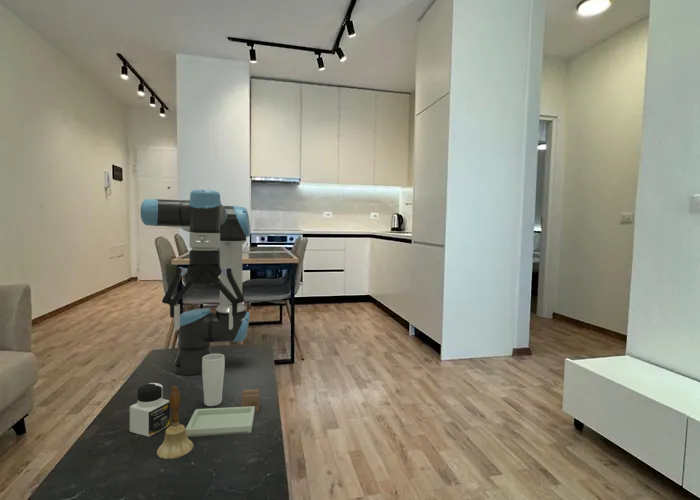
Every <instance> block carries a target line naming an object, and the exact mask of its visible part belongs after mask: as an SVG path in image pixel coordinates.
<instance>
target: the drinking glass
mask: <svg viewBox="0 0 700 500" xmlns="http://www.w3.org/2000/svg"><path fill="white" fill-rule="evenodd" d="M225 359H226V358H225V355H224V354H222V353H212V354H209V355H205V356H203V358H202V373H201V375H202V385H203V387H202V389H203V404H204V405H205V406H207V407H216V406H219V405H221V403H222V402H223V389H224V388H223V387H224V379H225V365H226V362H225V361H226V360H225Z"/></svg>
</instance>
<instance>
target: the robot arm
mask: <svg viewBox="0 0 700 500" xmlns="http://www.w3.org/2000/svg"><path fill="white" fill-rule="evenodd" d="M140 219H141V222H142V224H144V225H145V226H150V227H151V226H153V227H169V228H176V229H177V228H178V229H182V230H183V231H185V232H188V233H189V248H190V249H191V250H190V251H189V261H188V262H189V265H188V268H184V267H182V266H179V267H176V269H175V275H174V278H173V279H172V281H171V283H170V285H169V287H168V289H167V291H166V293H165V294H164V295H163V298H162V300H161V302H162V303H163V304H167V305H169V317H170V318H172V319H173V325H174V326H173V332H177V331H178V351H177V354H176V358H175V360H174V363H173V372H174V373H175V374H177V375H181V376H193V375H194V376H195V375H200V374H201V375H202V358H203V356H205V355H209V354H213V352H212V349H211V343H225V342H226V343H231V342H232V343H235V342H243V341H245V339H246V338H247V334H248V330H249V321H250V316H251V315H250V314H251V313H250V312H249V311H247V307H246V306H245V305H244V304H243V303H244V301H245V297H244V294H243V245H244V244H245V243H246V242H247V238H248V237H250V236H251V225H250V222H251V221H250V217H249V212H248V210H247V208H245V207H243V206H237V205H231V206H230V205H223V204H222V201H221V194H220V192H219V191H216V190H212V189H211V190H210V189H193V190H191V191H190V193H189V199H185V200H184V199H180V200H179V199H163V198H161V199H160V198H147V199H143V200H142V202H141V203H140ZM186 274H188V276H189V277H190V279H189V280H188V282H187V283H186V284H185V285H184V286H183V287H182V289H180V290H179V292H178V293H177V294H176V295H175V296H174V297H173V298H172V296H173V294H174V292H175V291H176V289H177V287H178V285H179V284H180V281H181V280H182V277H184V276H185V275H186ZM194 284H196V285H197V286H202V285H207V286H211V285H212V284H213V285H214V286H215V287H216V288H218V290H219V304H218V306H217V307H216V308H215V312H212V310H211V309H210V308H206V307H202V308H195V309H190V310H187V311H185V312H182V313H181V304H180V303H178V302H179V301H180V299H182V298H183V296H184V295H185V294H186V293H187V292H188V291H189V290H190V289H191V288H192V287H193V286H194Z"/></svg>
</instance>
